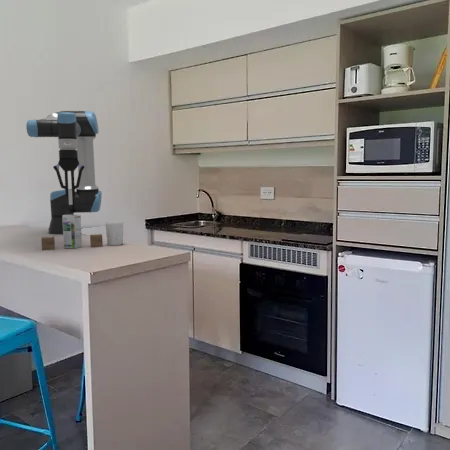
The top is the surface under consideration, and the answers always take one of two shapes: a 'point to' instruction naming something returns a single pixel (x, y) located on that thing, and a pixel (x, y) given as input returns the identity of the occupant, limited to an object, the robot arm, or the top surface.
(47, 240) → the walnut block seven
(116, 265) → the top surface
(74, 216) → the syrup box
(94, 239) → the walnut block one
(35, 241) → the top surface
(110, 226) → the white cup
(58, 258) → the top surface
